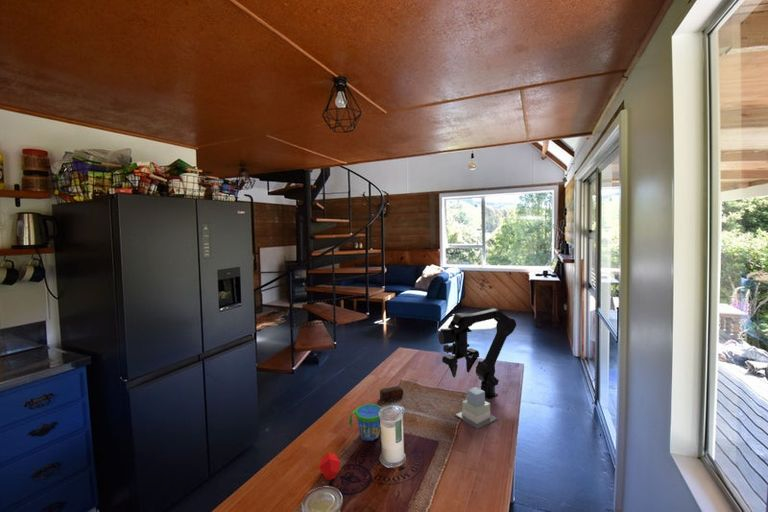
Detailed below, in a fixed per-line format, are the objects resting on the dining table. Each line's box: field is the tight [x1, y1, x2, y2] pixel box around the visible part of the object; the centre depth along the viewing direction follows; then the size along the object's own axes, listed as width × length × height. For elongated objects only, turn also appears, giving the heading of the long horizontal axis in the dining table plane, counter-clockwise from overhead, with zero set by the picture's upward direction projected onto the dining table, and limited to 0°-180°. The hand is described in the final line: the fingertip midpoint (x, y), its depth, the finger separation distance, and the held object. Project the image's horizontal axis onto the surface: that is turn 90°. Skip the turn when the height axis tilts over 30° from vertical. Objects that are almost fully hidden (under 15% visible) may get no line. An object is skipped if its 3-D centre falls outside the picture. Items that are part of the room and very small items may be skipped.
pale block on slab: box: [454, 398, 498, 430], centre depth 137 cm, size 12×12×7 cm
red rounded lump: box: [318, 451, 341, 481], centre depth 107 cm, size 7×7×8 cm
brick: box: [379, 385, 404, 402], centre depth 155 cm, size 11×4×5 cm, turn 115°
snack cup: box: [349, 403, 382, 442], centre depth 126 cm, size 16×10×10 cm
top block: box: [466, 386, 486, 407], centre depth 137 cm, size 5×5×5 cm
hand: (461, 374), depth 152 cm, fingers open, 9 cm apart
